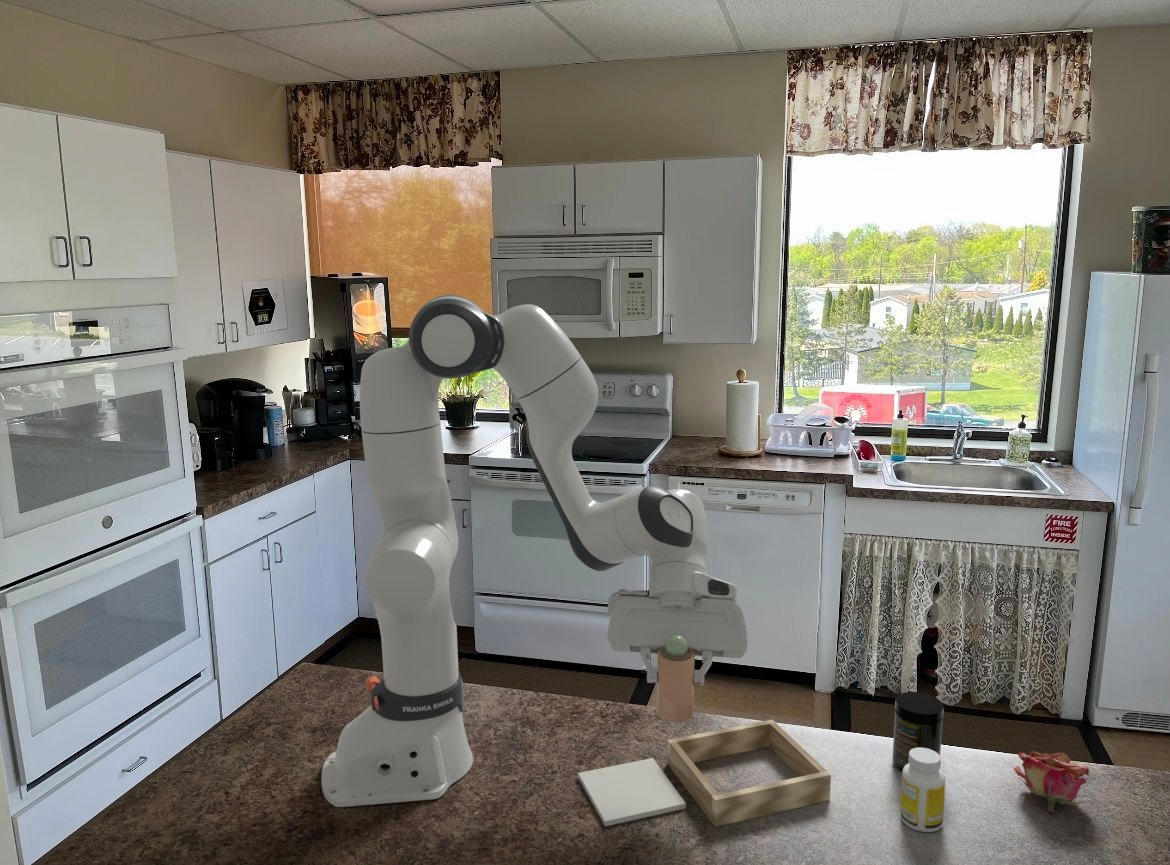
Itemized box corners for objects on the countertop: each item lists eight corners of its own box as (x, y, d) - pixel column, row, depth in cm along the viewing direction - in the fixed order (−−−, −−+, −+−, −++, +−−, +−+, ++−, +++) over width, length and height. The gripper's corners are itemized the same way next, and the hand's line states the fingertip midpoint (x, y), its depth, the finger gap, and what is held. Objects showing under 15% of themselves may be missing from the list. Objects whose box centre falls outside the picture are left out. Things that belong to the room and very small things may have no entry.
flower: (1100, 822, 112) (1103, 760, 115) (1027, 802, 114) (1032, 741, 117) (1066, 821, 121) (1069, 763, 124) (999, 802, 123) (1004, 745, 126)
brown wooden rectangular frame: (715, 827, 115) (715, 800, 114) (667, 763, 130) (667, 739, 129) (829, 800, 121) (830, 774, 120) (771, 742, 136) (772, 719, 135)
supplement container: (936, 784, 124) (940, 718, 122) (887, 771, 127) (891, 707, 125) (942, 761, 130) (946, 698, 128) (896, 750, 133) (899, 688, 131)
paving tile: (605, 826, 116) (605, 821, 115) (578, 777, 127) (578, 772, 127) (685, 808, 119) (685, 803, 119) (652, 762, 130) (652, 757, 130)
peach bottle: (665, 724, 119) (667, 645, 116) (651, 707, 123) (652, 630, 121) (699, 718, 120) (701, 640, 118) (683, 701, 125) (685, 626, 123)
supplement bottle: (943, 814, 117) (947, 749, 115) (941, 838, 112) (946, 770, 111) (901, 804, 119) (905, 740, 118) (897, 827, 115) (901, 761, 113)
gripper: (607, 580, 127) (600, 671, 119) (747, 586, 124) (749, 680, 117) (610, 597, 132) (603, 685, 124) (744, 603, 129) (746, 694, 122)
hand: (675, 683), depth 120 cm, fingers closed on peach bottle, 5 cm apart
